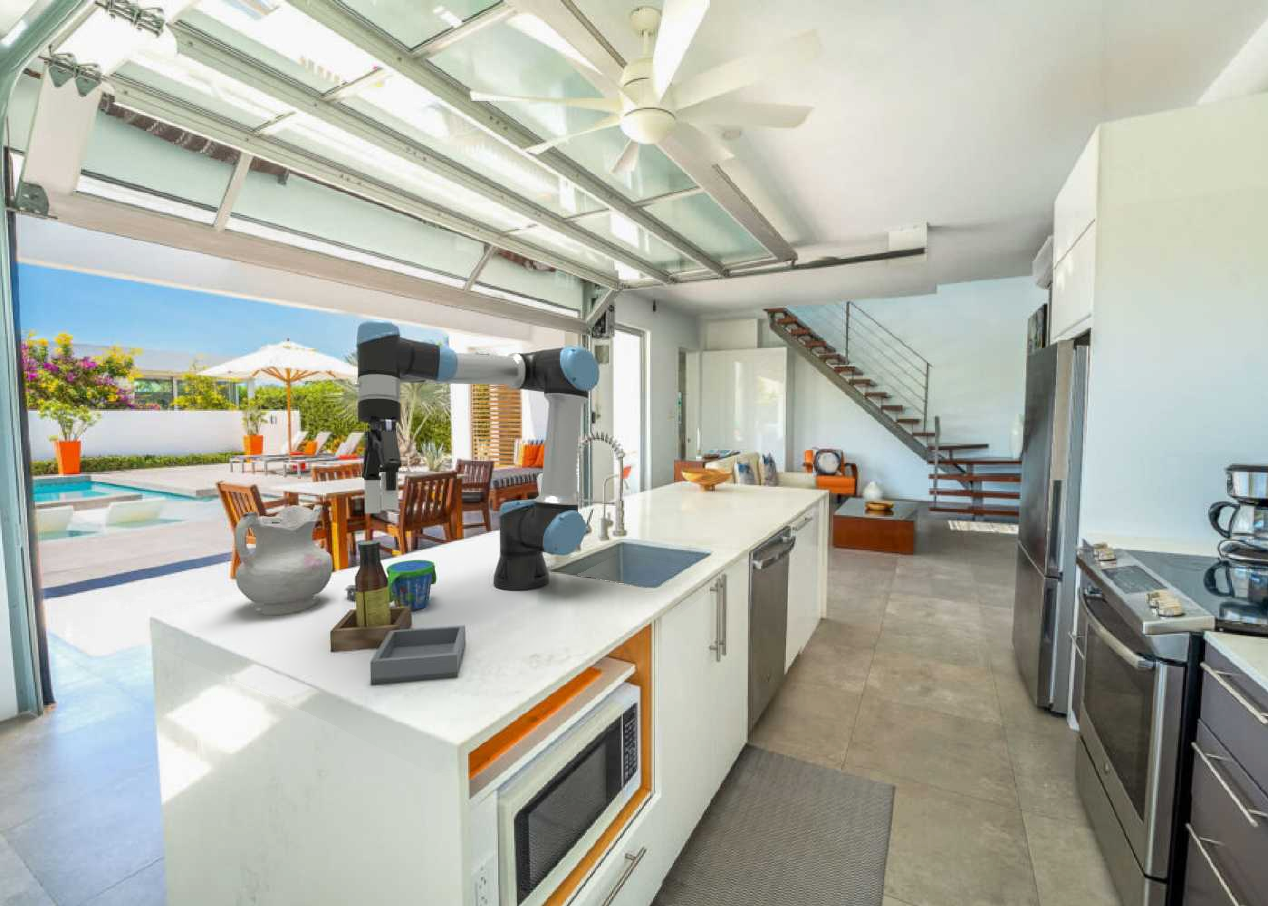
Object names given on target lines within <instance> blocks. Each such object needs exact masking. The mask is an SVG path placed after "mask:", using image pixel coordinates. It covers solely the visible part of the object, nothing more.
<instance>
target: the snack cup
mask: <svg viewBox="0 0 1268 906" xmlns="http://www.w3.org/2000/svg"><path fill="white" fill-rule="evenodd" d="M386 573H387V579H388V585H389V600H390V604H391V603H393V604H394V607H401V606H411V612H412V611H413V612H414V611H416V610H421V609H423V608H424V607H426V606H428V604H429V601H430V595H431V590H432V588H431V586H432V585H435V584H436V582H437V579H438V578H437V572H436V565H435V563H434V562H433V561H431V560H427V559H410V560H403V561H398V562H394V563H392V564H390V565H388V566H387V567H386Z"/></svg>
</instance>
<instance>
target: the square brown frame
mask: <svg viewBox="0 0 1268 906" xmlns="http://www.w3.org/2000/svg"><path fill="white" fill-rule="evenodd" d="M412 614H413V613H412V611H411V606H401V607H395V606H390V616H391V625H385V626H370V627H357V613H356V608H355V609H350V610H348V611H347V612H346V614H345V615H344V616H342V618H341V619H340V620H339V621H338V622H337V623H336V624H335V626H334V627H333V628H332V629H330V631H329V632H330V633H329V635H330V652H344V651H346V652H347V651H358V650H368V649H370V650H371V649H379V647H380V646H381V644H382V643H383V641H384V639H385V638H386V636H387V635H388V633H389V632H390V631H391V630H405V629H411V626H412V622H413V620H412V618H413V617H412Z"/></svg>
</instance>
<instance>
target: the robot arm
mask: <svg viewBox="0 0 1268 906" xmlns="http://www.w3.org/2000/svg"><path fill="white" fill-rule="evenodd" d="M400 331H401V330H400V328H399V326H398V325H397V324H395V323H393V322H391V321H388V320H384V319H383V320H382V319H370V320H365V321H363V322H361V323H360V324H359V325H358V327H357V333H356V337H357V338H356V346H355V347H356V352H357V355H356V356H357V357H356V358H357V361H356V362H357V381H355V382H354V387H355V388H358V390H357V398H358V400H359V401H358V402H357V419H358V421H359V422H361V423H366V424H369V430H365V432H364V436H365V438H364V441H365V442H364V452H363V460H362V461H363V462H362V463H363V464H362V474H361V478H362V479H363V480H364V514H380V513H381V514H382V512H381V511H391V510H393V511H395V510H399V508H400V507H399V472H400V469H401V467H402V466H403V465H402V463H403V462H402V458H401V453H400V447H399V441H398V434H397V423H399V422H400V421H401V420H402V409H401V406H402V405H401V403H400V401H401V399H402V393H401V392H402V389H401V385H402V384H401V383H406V384H407V383H408V384H421V383H422V384H425V383H426V384H457V385H458V384H460V385H489V386H491V385H493V386H498V385H499V386H507V387H509V388H510V389H512V390H525V391H526V390H527V391H534V392H538V393H539V392H540V393H543V397H544V398H545V399H546V401H547V402H548V410H547V421H546V431H545V444H544V455H543V462H542V463H543V464H542V465H543V466H542V476H541V486H540V494H539V495H538V496H536V498H533V499H521V500H513V501H506V502H503V503H502V504H501V505H500V507H499V515H498V518H499V519H498V521H499V559H498V560H497V561H498V562H497V564H496V567H495V571H494V575H493V585H494V587H496V588H498V589H500V590H508V591H526V590H533V589H537V588H541V587H544V586H546V585H548V584H549V583H550V573H549V569H548V566H547V563H546V560H545V557H544V554H543V553H547V554H550V556H551V555H553V556H554V555H556V556H567V555H570V554H571V553H573V552H574V551H576V550H577V548H578V547H580V546H581V544H582V542H583V540H584V538H585V535H586V531H587V526H586V520H585V519H584V515H582V514H581V513H580V512H579V504H580V503H579V501H578V500H577V499H576V498H575V496H574V495H575V484H576V473H577V461H578V452H579V451H578V450H579V441H580V439H579V438H580V430H581V419H582V408H583V406H584V405H585V404H586V403H587V402H589V396H590V395H589V394H590V393H589V392H590V391H592V390H593V389H594V388H595V387H596V386H597V385H598V383H599V380H600V366H599V364H598V360H597V359H596V358H595V356H594V353H592V351H591V350H589V349H587V348H586V347H584V346H581V345H575V346H572V345H567V346H564V347H557V348H556V347H555V348H550V349H549V348H548V349H541V350H537V351H531V352H524V353H516V352H513V353H510V354H508V355H506V356H504V355H492V354H491V355H490V354H480V353H479V354H476V353H465V352H464V353H463V352H462V353H461V352H455V351H454V350H453V349H452V348H449V347H447V346H443V345H441V344H434V343H429V342H425V341H418V340H413V339H409V338H406V337H401V333H400Z"/></svg>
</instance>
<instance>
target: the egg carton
mask: <svg viewBox="0 0 1268 906" xmlns="http://www.w3.org/2000/svg"><path fill="white" fill-rule="evenodd" d="M355 589H356V586H355V584H350V585H348V586H347V587H346V588H345V589H344V591H347V596H346V597H347V600H348V601H353V600H354V602H355V603H356V596H355Z"/></svg>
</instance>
